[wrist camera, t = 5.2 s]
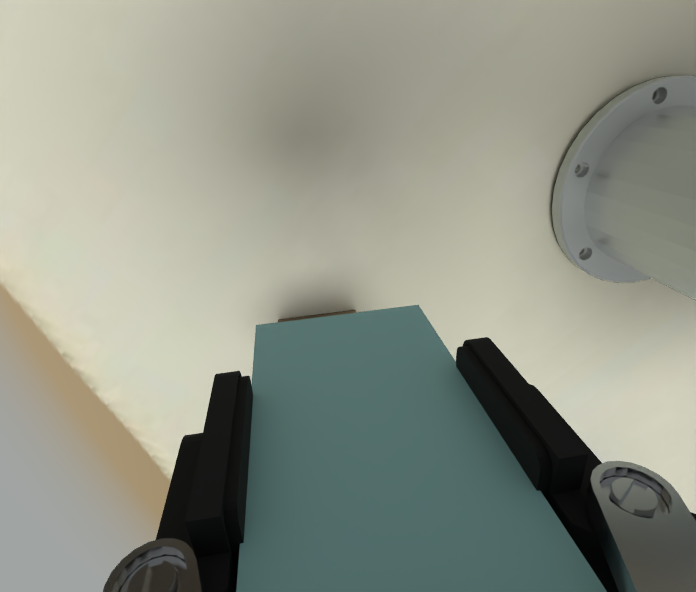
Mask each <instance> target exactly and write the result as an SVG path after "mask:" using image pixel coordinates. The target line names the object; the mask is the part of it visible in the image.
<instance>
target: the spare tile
mask: <svg viewBox="0 0 696 592" xmlns="http://www.w3.org/2000/svg"><path fill="white" fill-rule="evenodd" d="M252 391H253V407H252V422H251V438H250V453H249V468H248V484H247V499H246V514H245V530H244V543H240V548H239V562H238V575H237V589H236V592H607V591H606V590H605V588H604V586H603V585H602V583H601V582H600V580H599V579H598V577H597V576H596V574H595V573H594V571H593V570H592V568H591V567H590V565H589V564H588V562H587V561H586V559H585V558H584V556H583V555H582V553H581V552H580V550H579V548H578V547H577V545H576V544H575V542H574V541H573V539H572V538H571V536H570V535H569V533H568V532H567V530H566V529H565V527H564V526H563V524H562V523H561V521H560V520H559V518H558V517H557V515H556V514H555V512H554V510H553V509H552V507H551V506H550V504H549V503H548V501H547V500H546V498H545V497H544V495H543V494H542V492H541V491H537V490H536V489H535V487H534V486H533V484H532V483H531V481H530V479H529V478H528V476H527V475H526V473H525V472H524V470H523V469H522V467H521V466H520V464H519V462H518V461H517V459H516V458H515V456H514V455H513V453H512V452H511V450H510V449H509V447H508V446H507V444H506V442H505V441H504V439H503V438H502V436H501V435H500V433H499V432H498V430H497V429H496V427H495V426H494V424H493V422H492V421H491V419H490V418H489V416H488V415H487V413H486V412H485V410H484V409H483V407H482V405H481V404H480V402H479V401H478V399H477V398H476V396H475V395H474V393H473V392H472V390H471V389H470V387H469V385H468V384H467V382H466V381H465V379H464V378H463V376H462V375H461V373H460V372H459V370H458V368H457V367H456V362H455V360H454V358H453V357H452V355H451V354H450V352H449V351H448V349H447V348H446V346H445V345H444V343H443V342H442V340H441V339H440V337H439V336H438V334H437V333H436V331H435V330H434V328H433V327H432V325H431V324H430V322H429V320H428V319H427V317H426V316H425V314H424V313H423V311H422V310H421V308H420V307H419V305H414V306H406V307H398V308H390V309H382V310H374V311H366V312H358V313H350V314H342V315H334V316H326V317H318V318H310V319H302V320H294V321H286V322H278V323H270V324H262V325H256V334H255V347H254V361H253V374H252Z"/></svg>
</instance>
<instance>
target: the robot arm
mask: <svg viewBox="0 0 696 592" xmlns="http://www.w3.org/2000/svg"><path fill="white" fill-rule="evenodd" d="M552 218H553V227H554V231H555V234H556V238H557V241H558V243H559V245H560V247H561V248H562V250H563V252H564V254H565V255H566V256H567V257H568V258H569V259H570V260H571V262H572V263H573V264H574V265H575V266H577V267H579V268H580V269H582V270H583V271H585V272H586V273H588V274H590V275H592V276H594V277H596V278H599V279H601V280H605V281H610V282H615V283H632V282H637V281H642V280H647V279H651V278H652V279H654V280H656V281H658V282H660V283H662V284H664V285H666V286H668V287H670V288H672V289H674V290H676V291H678V292H680V293H682V294H684V295H686V296H688V297H690V298H692V299H694V300H696V76H669V77H663V78H657V79H652V80H649V81H647V82H644V83H641V84H639V85H636V86H634V87H632V88H630V89H628V90H627V91H625V92H623V93H622V94H620V95H618V96H617V97H615V98H614V99H612V100H611V101H610V102H609V103H608V104H607V105H605V106H604V107H603V108H602V109H601V110H599V111H598V112H597V113H596V114H595V115H594V116H593V117H592V119H591V120H590V121H589V122H588V123H587V124H586V125H585V127H584V128H583V129H582V130H581V131H580V133H579V134H578V136H577V138H576V139H575V141H574V142H573V144H572V145H571V147H570V148H569V150H568V152H567V154H566V157H565V159H564V161H563V163H562V165H561V167H560V170H559V173H558V177H557V180H556V184H555V187H554V193H553V202H552ZM456 367H457V368H458V370H459V372H460V373H461V375H462V376H463V378H464V379H465V381H466V382H467V384H468V385H469V387H470V389H471V390H472V392H473V393H474V395H475V396H476V398H477V399H478V401H479V402H480V404H481V405H482V407H483V409H484V410H485V412H486V413H487V415H488V416H489V418H490V419H491V421H492V422H493V424H494V426H495V427H496V429H497V430H498V432H499V433H500V435H501V436H502V438H503V439H504V441H505V442H506V444H507V446H508V447H509V449H510V450H511V452H512V453H513V455H514V456H515V458H516V459H517V461H518V462H519V464H520V466H521V467H522V469H523V470H524V472H525V473H526V475H527V476H528V478H529V479H530V481H531V483H532V484H533V486H534V487H535V489H536V490H537V491H541V492H542V494H543V495H544V497H545V498H546V500H547V501H548V503H549V504H550V506H551V507H552V509H553V510H554V512H555V514H556V515H557V517H558V518H559V520H560V521H561V523H562V524H563V526H564V527H565V529H566V530H567V532H568V533H569V535H570V536H571V538H572V539H573V541H574V542H575V544H576V545H577V547H578V548H579V550H580V552H581V553H582V555H583V556H584V558H585V559H586V561H587V562H588V564H589V565H590V567H591V568H592V570H593V571H594V573H595V574H596V576H597V577H598V579H599V580H600V582H601V583H602V585H603V586H604V588H605V590H606V591H607V592H696V514H694V513H691V512H690V511H689V509H688V508H687V506H686V505H685V503H684V502H683V500H682V498H681V497H680V495H679V494H678V493H677V491H676V490H675V489H674V488H673V487H672V485H671V484H670V483H669V482H667V481H666V480H665V479H664V478H662V477H661V476H660V475H658V474H657V473H655V472H653V471H651V470H649V469H647V468H645V467H642V466H640V465H637V464H634V463H629V462H623V461H609V462H605V463H601V461H600V460H599V459H598V458H597V457H596V456H595V455H594V453H593V452H592V451H591V450H590V449H589V448H588V447H587V445H586V444H585V443H584V442H583V441H582V440H581V439H580V437H579V436H578V435H577V434H576V433H575V432H574V430H573V429H572V428H571V427H570V426H569V425H568V424H567V422H566V421H565V420H564V419H563V418H562V417H561V416H560V414H559V413H558V412H557V411H556V410H555V409H554V408H553V406H552V405H551V404H550V403H549V402H548V401H547V399H546V398H545V397H544V396H543V395H542V394H541V393H540V391H539V390H538V389H537V388H536V387H534V386H533V385H530V384H528V383H527V381H526V380H525V379H524V378H523V377H522V376H521V374H520V373H519V372H518V371H517V370H516V369H515V367H514V366H513V365H512V364H511V363H510V362H509V360H508V359H507V358H506V357H505V356H504V355H503V353H502V352H501V351H500V350H499V349H498V348H497V346H496V345H495V344H494V343H493V342H492V341H491V339H489V338H487V337H485V338H478V339H471V340H466V341H464V344H463V346H462V347H458V349H457V356H456ZM252 407H253V391H252V386H251V380H250V377H249V376H244V377H242V376H241V373H240V371H235V372H228V373H220V374H216V375H215V377H214V382H213V387H212V392H211V397H210V402H209V407H208V411H207V416H206V421H205V426H204V431H203V433H199V434H192V435H185V436H184V437H183V439H182V442H181V445H180V449H179V453H178V456H177V460H176V464H175V468H174V472H173V476H172V480H171V483H170V487H169V491H168V495H167V499H166V503H165V507H164V510H163V514H162V518H161V522H160V526H159V530H158V533H157V537H156V540H155V541H151V542H148V543H146V544H144V545H142V546H140V547H138V548H136V549H135V550H133V551H132V552H131V553H130V554H128V555H127V556H126V557H125V558H123V559H122V560H121V562H120V563H119V564H118V565H117V566H116V567H115V569H114V570H113V571H112V572H111V574H110V576H109V578H108V580H107V582H106V584H105V586H104V589H103V592H236V589H237V575H238V562H239V548H240V543H244V530H245V514H246V499H247V484H248V468H249V453H250V438H251V422H252Z"/></svg>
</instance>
